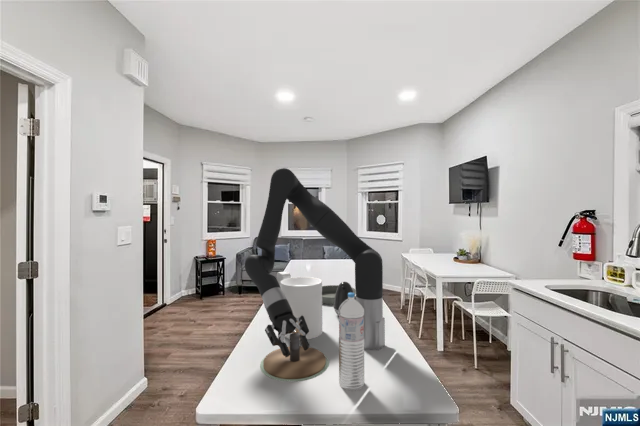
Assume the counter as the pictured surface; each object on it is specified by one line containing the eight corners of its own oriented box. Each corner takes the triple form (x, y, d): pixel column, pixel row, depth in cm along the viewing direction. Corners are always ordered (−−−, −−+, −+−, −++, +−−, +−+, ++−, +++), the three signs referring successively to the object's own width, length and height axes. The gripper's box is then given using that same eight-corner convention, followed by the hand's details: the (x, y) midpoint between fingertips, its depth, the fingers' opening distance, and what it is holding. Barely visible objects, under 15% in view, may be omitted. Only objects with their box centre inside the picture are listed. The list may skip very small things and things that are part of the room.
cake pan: (306, 295, 176) (306, 287, 176) (346, 291, 184) (346, 283, 183) (319, 307, 153) (318, 298, 153) (364, 303, 160) (364, 294, 160)
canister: (326, 327, 127) (326, 278, 126) (315, 343, 111) (315, 287, 111) (289, 323, 131) (289, 276, 131) (274, 338, 116) (273, 284, 115)
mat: (340, 358, 100) (340, 356, 100) (304, 391, 82) (304, 389, 82) (287, 344, 110) (287, 342, 110) (245, 371, 92) (245, 369, 92)
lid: (336, 357, 99) (336, 330, 99) (303, 386, 83) (303, 354, 83) (287, 344, 109) (287, 320, 109) (250, 368, 93) (249, 340, 93)
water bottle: (348, 376, 89) (347, 288, 89) (369, 384, 85) (368, 292, 85) (333, 386, 84) (333, 293, 84) (355, 396, 79) (354, 298, 79)
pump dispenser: (331, 318, 137) (331, 283, 137) (335, 311, 147) (335, 278, 147) (354, 320, 134) (354, 285, 134) (357, 312, 144) (357, 279, 144)
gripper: (261, 302, 97) (282, 354, 88) (299, 294, 106) (321, 340, 97) (253, 315, 101) (272, 365, 92) (290, 306, 110) (311, 351, 101)
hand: (297, 352), depth 95 cm, fingers open, 6 cm apart
